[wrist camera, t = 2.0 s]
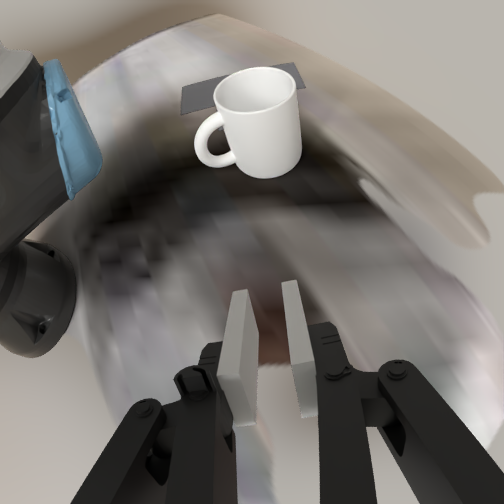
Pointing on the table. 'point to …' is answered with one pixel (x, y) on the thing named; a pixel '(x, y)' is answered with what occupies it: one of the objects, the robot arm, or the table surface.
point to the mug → (255, 123)
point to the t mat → (203, 92)
